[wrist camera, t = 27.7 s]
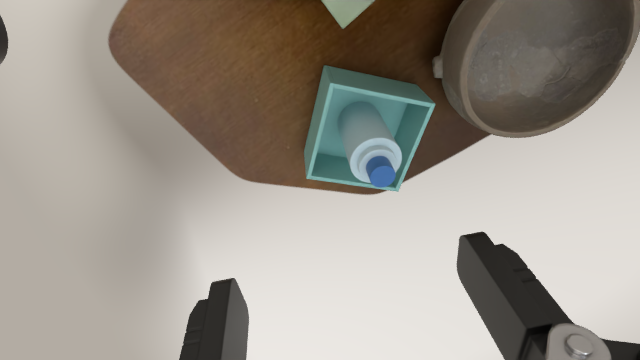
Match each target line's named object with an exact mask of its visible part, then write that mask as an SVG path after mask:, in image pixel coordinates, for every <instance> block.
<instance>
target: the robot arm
mask: <svg viewBox="0 0 640 360" xmlns="http://www.w3.org/2000/svg"><path fill="white" fill-rule="evenodd" d="M457 271H458V275H459V278H460V280H461V283H462V284H463V286H464V288H465V290H466V291H467V293H468V295H469V297H470V299H471V300H472V302H473V304H474V306H475V307H476V309H477V311H478V313H479V315H480V316H481V318H482V320H483V322H484V323H485V325H486V327H487V329H488V331H489V332H490V334H491V336H492V338H493V339H494V341H495V343H496V345H497V347H498V348H499V350H500V352H501V354H502V355H503V357H504V359H505V360H640V344H636V343H627V342H619V341H611V340H605V339H601V338H599V337H598V336H597V335H595V334H594V333H593V332H591V331H590V330H588V329H586V328H584V327H581V326H579V325H575V324H574V323H573V322H572V321H571V320H570V319H569V318H568V316H567V315H566V314H565V313H564V312H563V311H562V309H561V308H560V306H559V305H558V304H557V303H556V301H555V300H554V299H553V298H552V296H551V295H550V294H549V293H548V291H547V290H546V289H545V288H544V286H543V285H542V284H541V283H540V282H539V280H538V279H536V276H535V275H534V274H533V273H532V271H531V270H530V269H528V268H527V265H526V264H525V263H524V262H523V260H522V259H521V258H520V257H519V255H518V254H517V253H516V252H514V251H513V250H511V249H510V248H508V247H507V246H505V245H504V244H499V245H494V244H493V242H492V241H491V240H490V238H489V237H488V236H487V234H486V233H484V232H478V233H473V234H467V235H462V236H461V237H460V239H459V248H458V257H457ZM248 325H249V315H248V308H247V304H246V302H245V300H244V298H243V295H242V293H241V291H240V288H239V286H238V284H237V282H236V280H235V279H234V278H231V279H226V280H221V281H216V282H212V284H211V287H210V291H209V296H208V299H205V300H199V301H198V303H197V304H196V306H195V307H194V309H193V311H192V312H191V314H190V316H189V320H188V324H187V329H186V333H185V337H184V342H183V343H184V345H183V346H182V350H181V354H180V359H179V360H246V353H247V339H248Z"/></svg>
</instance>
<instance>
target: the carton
mask: <svg viewBox="0 0 640 360" xmlns="http://www.w3.org/2000/svg"><path fill="white" fill-rule="evenodd" d="M355 102H367V103H370V104H372V105H373V106H375V107H376V109H377V110H378V112H379V113H380V115H381V117H382V118H383V120H384V122H385V124H386V125H387V127H388V129H389V130H390V132H391V134H392V136H393V137H394V139H395V141H396V143H397V144H398V146H399V148H400V150H401V153H402V161H401V164H400V167H399V169H398V170H397V171H396V176H395V179H394V181H393V182H392V183H391V184H390V185H388V186H386V187H382V188H379V187H375V186H374V185H372V184H371V183H367V182H363V181H361V180H359V179H358V178H356V177H355V176H354V175H353V173H352V171H351V169H350V165H349V162H348V159H347V156H346V152H345V149H344V146H343V142H342V139H341V136H340V133H339V129H338V118H339V115H340V114H341V112H342V111H343V110H344V108H346V107H347V106H348V105H350V104H352V103H355ZM434 107H435V103H434V102H433V101H432V100H431V99H430V98H429V97H428V96H427V95H426V94H425V93H424V92H423V91H422V90H421V89H420V88H419V87H418V85H416V84H411V83H407V82H402V81H397V80H392V79H388V78H383V77H378V76H373V75H369V74H364V73H359V72H354V71H350V70H345V69H340V68H335V67H331V66H326V65H324V67H323V72H322V76H321V80H320V85H319V89H318V93H317V98H316V102H315V106H314V111H313V115H312V119H311V123H310V128H309V132H308V136H307V141H306V145H305V149H304V159H305V169H306V178H307V179H313V180H320V181H327V182H334V183H341V184H348V185H355V186H362V187H369V188H376V189H383V190H390V191H398V190H399V188H400V186H401V184H402V181H403V179H404V177H405V174H406V172H407V170H408V167H409V165H410V163H411V160H412V158H413V156H414V153H415V151H416V149H417V146H418V144H419V142H420V139H421V137H422V135H423V132H424V130H425V128H426V125H427V123H428V121H429V118H430V116H431V114H432V111H433V109H434Z"/></svg>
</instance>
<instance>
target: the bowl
mask: <svg viewBox="0 0 640 360" xmlns="http://www.w3.org/2000/svg"><path fill="white" fill-rule="evenodd" d="M639 31H640V0H464V1H463V2H462V3H461V5H460V6H459V7H458V9H457V11H456V12H455V14H454V15H453V17H452V20H451V22H450V24H449V27H448V29H447V32H446V34H445V38H444V41H443V44H442V50H441V53H440V55H439V56H436V57H434V58H433V60H432V66H433V73H434V77H435V78H441V79H442V85H443V88H444V91H445V95H446V97H447V99H448V101H449V104H450V105H451V106H452V107H453V108H454V109H455V110H456V111H457V112H458V113H459V114H460V115H461V116H462V117H463V118H464V119H465V120H466V121H468V122H469V123H471V124H472V125H474V126H475V127H477V128H479V129H481V130H483V131H485V132H488V133H490V134H493V135H497V136H502V137H510V138H522V137H531V136H537V135H541V134H544V133H547V132H550V131H553V130H555V129H557V128H559V127H561V126H563V125H565V124H567V123H569V122H570V121H572V120H573V119H575V118H576V117H578V116H579V115H581V114H582V113H583V112H584V111H586V110H587V109H588V108H589V107H591V106H592V105H593V104H594V103H595V102H596V101H597V100H598V99H599V98H600V97H601V96H602V95H603V94H604V93H605V92H606V90H607V89H608V88H609V87H610V86H611V85H612V83H613V82H614V80H615V79H616V78H617V76H618V74H619V73H620V71H621V69H622V68H623V65H624V64H625V61H626V60H627V58H628V57H629V55H630V53H631V51H632V49H633V47H634V45H635V43H636V40H637V37H638V34H639Z"/></svg>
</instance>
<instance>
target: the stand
mask: <svg viewBox="0 0 640 360" xmlns="http://www.w3.org/2000/svg"><path fill="white" fill-rule="evenodd" d="M321 1H322V2H323V4H324V5H325V6H326V8H327V9H328V10H329V12H330V13H331V14H332V16H333V17H334V18H335V20H336V21H337V22H338V24H339V25H340V26H341V28H342V29H344V28H345V27H346V26H347V25H348V24H349V23H350V22H352V21H353V20H354V19H355V18H356V17H357V16H358V15H359V14H360V13H362V12H363V11H364V10H365V9H366V8H367V7H368V6H369V5H371V4H372V3H373V2H374V1H375V0H321Z"/></svg>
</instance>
